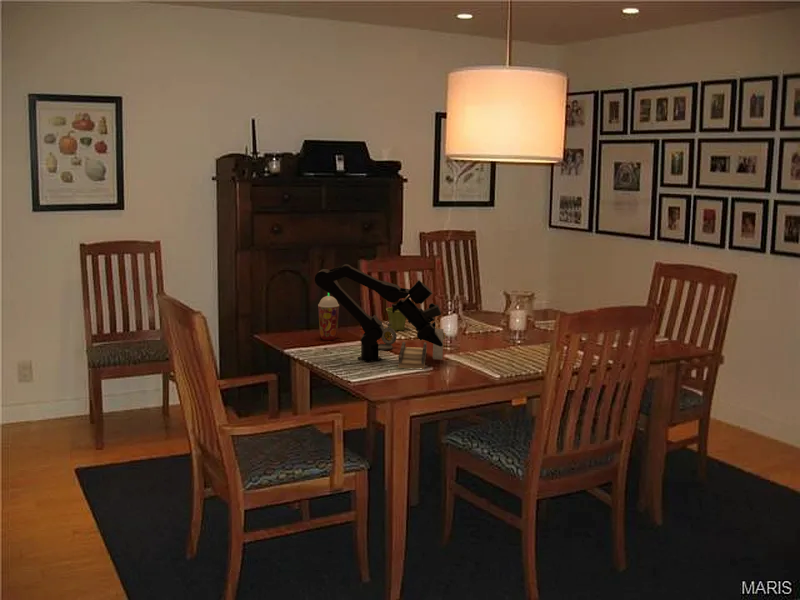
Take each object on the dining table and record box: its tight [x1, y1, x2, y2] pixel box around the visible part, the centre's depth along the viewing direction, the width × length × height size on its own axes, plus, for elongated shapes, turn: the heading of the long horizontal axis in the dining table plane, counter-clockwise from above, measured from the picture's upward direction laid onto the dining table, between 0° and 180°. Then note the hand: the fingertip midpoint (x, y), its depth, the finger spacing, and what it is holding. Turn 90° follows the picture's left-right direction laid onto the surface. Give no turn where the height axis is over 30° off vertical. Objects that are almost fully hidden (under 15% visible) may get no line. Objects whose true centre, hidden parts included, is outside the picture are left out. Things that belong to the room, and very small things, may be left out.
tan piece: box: [397, 341, 428, 370], centre depth 309 cm, size 24×9×4 cm, turn 177°
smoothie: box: [317, 292, 340, 341], centre depth 339 cm, size 8×8×20 cm
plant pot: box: [385, 306, 407, 332], centre depth 359 cm, size 9×9×9 cm
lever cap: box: [432, 328, 447, 360], centre depth 307 cm, size 4×5×10 cm
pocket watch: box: [378, 320, 398, 351], centre depth 326 cm, size 8×8×10 cm
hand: (442, 343), depth 307 cm, fingers closed on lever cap, 5 cm apart
